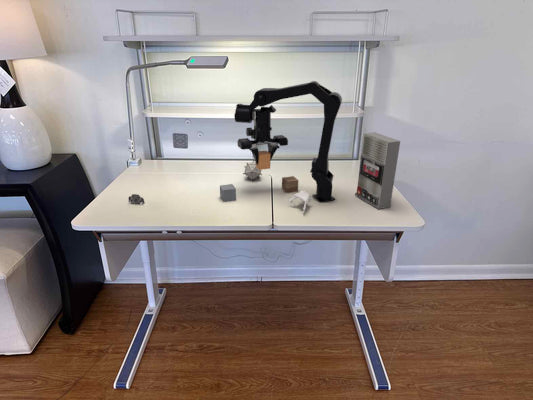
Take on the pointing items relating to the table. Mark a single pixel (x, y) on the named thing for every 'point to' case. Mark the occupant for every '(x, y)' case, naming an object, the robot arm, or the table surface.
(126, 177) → the table surface
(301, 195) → the origami figure
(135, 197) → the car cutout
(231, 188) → the charcoal grey block
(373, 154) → the cassette tape recorder
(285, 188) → the walnut block
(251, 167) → the grey spiky ball
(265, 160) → the rust orange block
